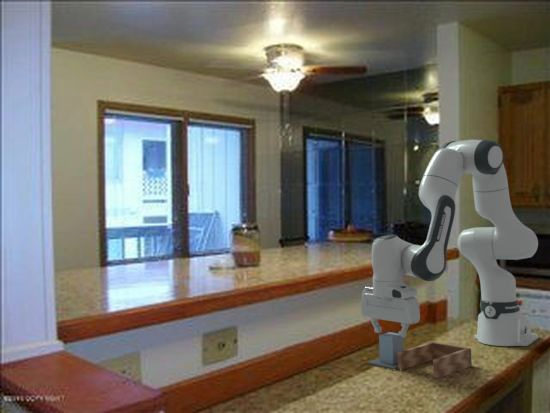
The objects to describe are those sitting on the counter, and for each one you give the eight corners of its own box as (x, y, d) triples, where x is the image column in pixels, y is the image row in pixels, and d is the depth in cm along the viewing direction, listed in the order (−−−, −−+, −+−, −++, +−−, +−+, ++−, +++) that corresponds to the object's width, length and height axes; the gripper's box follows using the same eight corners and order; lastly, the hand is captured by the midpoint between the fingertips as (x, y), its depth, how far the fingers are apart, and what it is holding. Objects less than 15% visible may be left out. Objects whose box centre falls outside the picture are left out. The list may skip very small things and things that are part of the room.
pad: (388, 357, 177) (388, 355, 177) (414, 363, 170) (414, 361, 170) (367, 363, 171) (367, 361, 171) (393, 370, 163) (393, 368, 163)
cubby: (432, 357, 175) (432, 341, 175) (471, 365, 165) (471, 348, 165) (398, 369, 164) (397, 352, 164) (437, 378, 154) (436, 360, 154)
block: (390, 358, 174) (389, 332, 174) (403, 361, 170) (402, 334, 170) (380, 361, 171) (378, 334, 171) (393, 364, 167) (392, 337, 167)
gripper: (355, 287, 177) (357, 331, 177) (408, 293, 161) (410, 342, 161) (368, 284, 181) (370, 327, 181) (421, 290, 165) (424, 337, 165)
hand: (390, 334), depth 171 cm, fingers open, 8 cm apart
